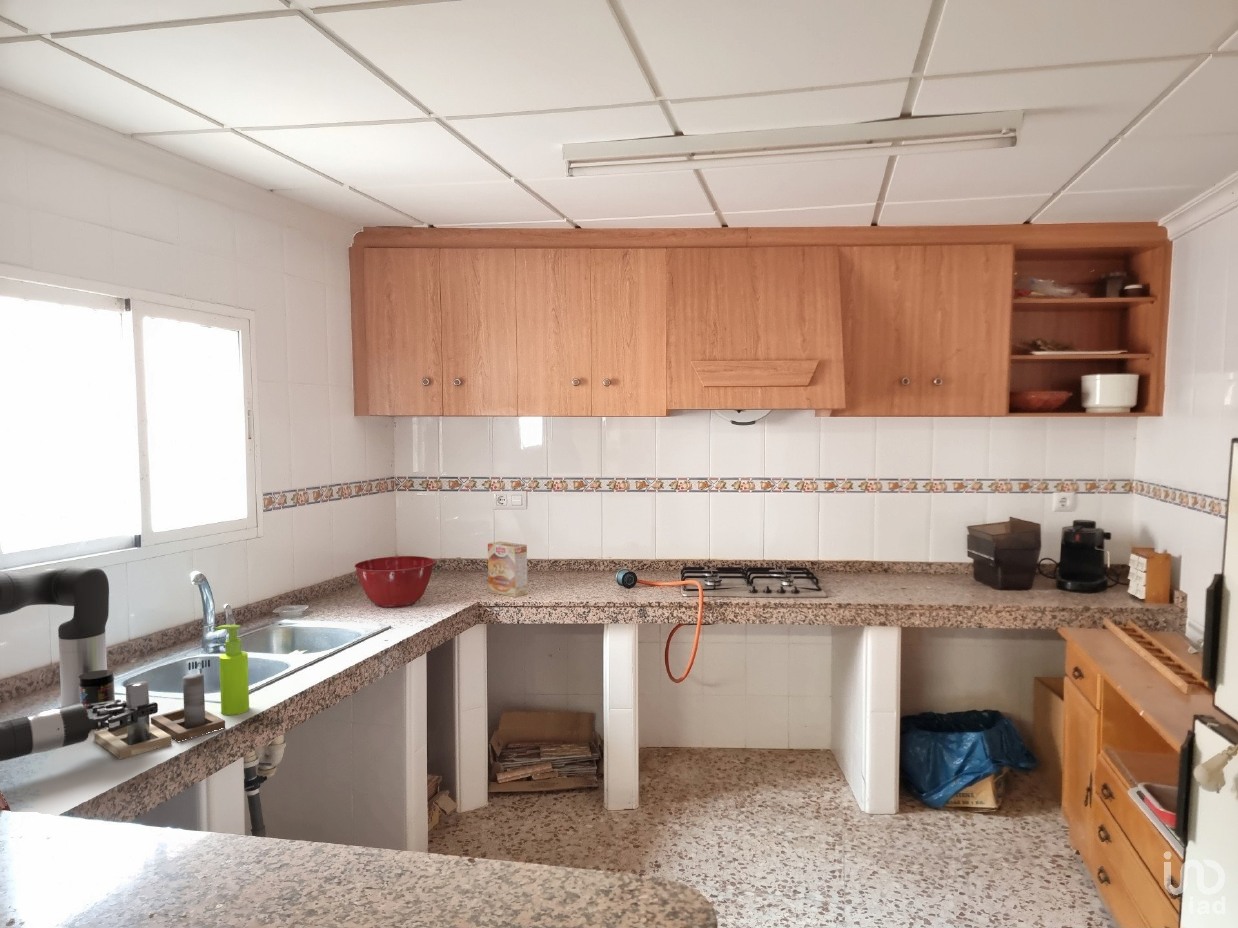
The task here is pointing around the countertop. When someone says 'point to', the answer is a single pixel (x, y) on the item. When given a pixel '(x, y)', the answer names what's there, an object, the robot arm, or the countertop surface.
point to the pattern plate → (189, 713)
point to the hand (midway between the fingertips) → (152, 704)
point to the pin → (141, 729)
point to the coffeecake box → (507, 568)
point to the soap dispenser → (233, 675)
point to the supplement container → (96, 687)
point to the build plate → (124, 750)
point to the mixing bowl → (395, 579)
